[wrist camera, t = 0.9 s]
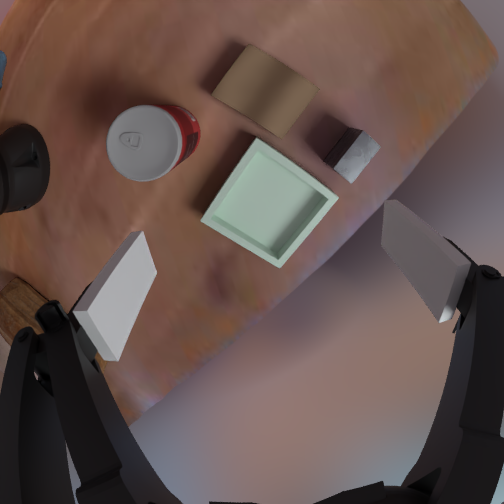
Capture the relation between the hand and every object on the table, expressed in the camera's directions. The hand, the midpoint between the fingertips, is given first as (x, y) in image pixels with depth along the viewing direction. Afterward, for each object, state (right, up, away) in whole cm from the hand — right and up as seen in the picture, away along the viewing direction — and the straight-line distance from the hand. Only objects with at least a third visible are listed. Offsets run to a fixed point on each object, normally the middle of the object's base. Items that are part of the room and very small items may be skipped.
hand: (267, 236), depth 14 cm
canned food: (-11, +15, +18) cm, 26 cm away
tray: (+2, +6, +23) cm, 24 cm away
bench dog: (+12, +13, +19) cm, 26 cm away
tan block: (+1, +19, +16) cm, 25 cm away
